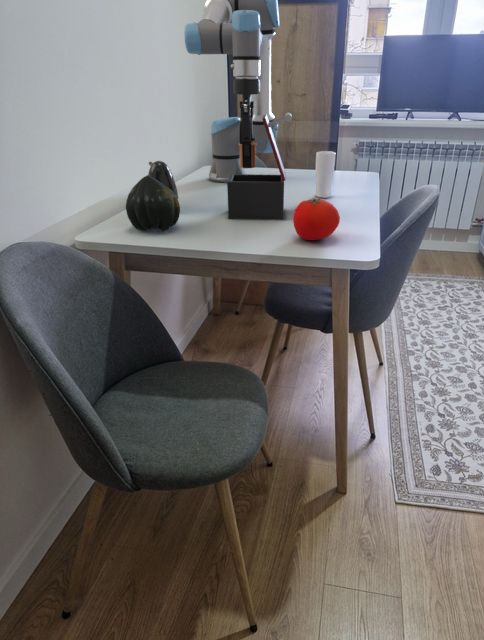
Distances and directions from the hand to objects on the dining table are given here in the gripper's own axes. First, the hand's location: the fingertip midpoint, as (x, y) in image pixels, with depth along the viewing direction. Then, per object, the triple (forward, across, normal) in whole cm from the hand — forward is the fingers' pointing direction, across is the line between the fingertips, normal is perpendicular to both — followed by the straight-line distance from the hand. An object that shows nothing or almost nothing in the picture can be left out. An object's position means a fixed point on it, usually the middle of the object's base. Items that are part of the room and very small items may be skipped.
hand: (247, 165), depth 145 cm
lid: (-5, 0, +8) cm, 9 cm away
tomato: (+15, +25, +20) cm, 35 cm away
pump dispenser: (+15, -4, -28) cm, 32 cm away
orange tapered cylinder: (0, 0, 0) cm, 0 cm away
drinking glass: (+15, -25, +26) cm, 39 cm away
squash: (+15, +17, -26) cm, 35 cm away
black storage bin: (+15, 0, +3) cm, 15 cm away
